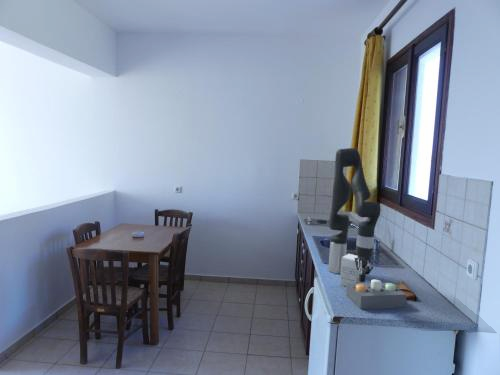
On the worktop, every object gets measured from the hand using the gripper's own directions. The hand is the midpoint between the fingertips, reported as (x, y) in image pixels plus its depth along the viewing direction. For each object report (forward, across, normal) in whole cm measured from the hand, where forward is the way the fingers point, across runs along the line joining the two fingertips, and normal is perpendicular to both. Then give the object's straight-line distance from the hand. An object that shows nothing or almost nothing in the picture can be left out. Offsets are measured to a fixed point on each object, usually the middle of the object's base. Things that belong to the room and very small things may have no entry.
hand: (361, 281), depth 160 cm
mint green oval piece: (+8, 0, +15) cm, 17 cm away
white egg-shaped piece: (+6, 0, +7) cm, 9 cm away
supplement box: (+10, -20, +5) cm, 23 cm away
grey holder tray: (+10, 0, +7) cm, 12 cm away
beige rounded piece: (+7, 0, 0) cm, 7 cm away
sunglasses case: (+11, -8, +27) cm, 30 cm away
